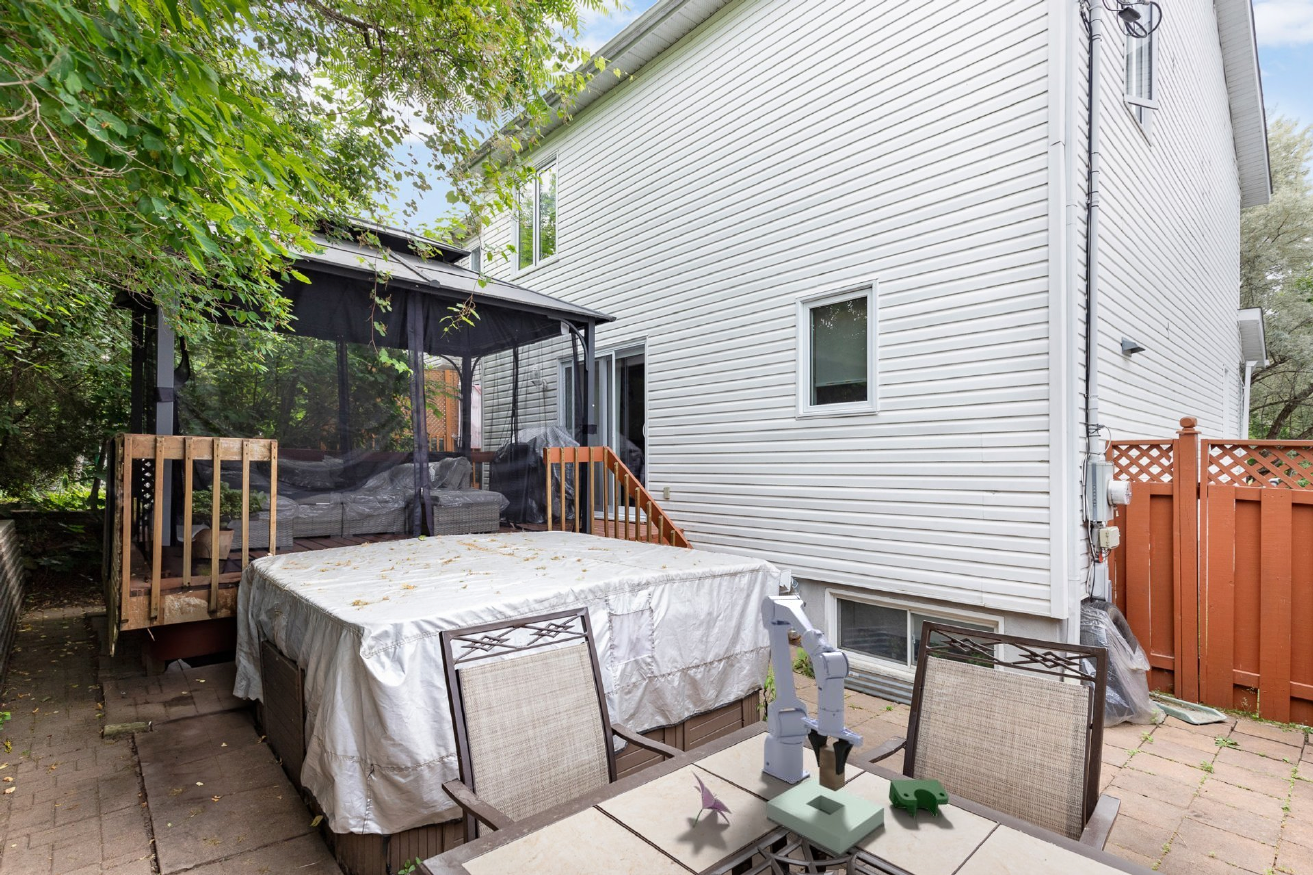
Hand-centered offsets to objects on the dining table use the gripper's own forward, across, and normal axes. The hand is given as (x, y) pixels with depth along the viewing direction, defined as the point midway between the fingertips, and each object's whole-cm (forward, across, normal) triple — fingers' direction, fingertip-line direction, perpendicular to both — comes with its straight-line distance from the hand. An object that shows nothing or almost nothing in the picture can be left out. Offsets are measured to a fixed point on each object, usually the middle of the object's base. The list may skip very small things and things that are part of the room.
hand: (830, 769), depth 138 cm
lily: (+10, -16, -22) cm, 29 cm away
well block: (+10, 0, -3) cm, 10 cm away
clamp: (+10, +12, +17) cm, 24 cm away
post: (+4, 0, +1) cm, 4 cm away
